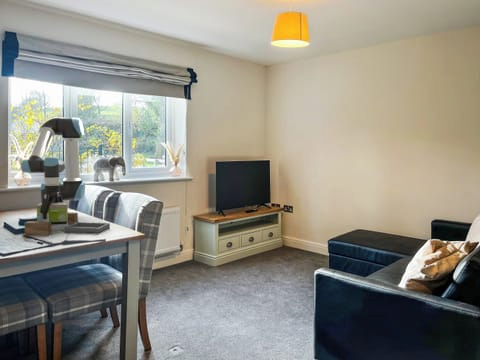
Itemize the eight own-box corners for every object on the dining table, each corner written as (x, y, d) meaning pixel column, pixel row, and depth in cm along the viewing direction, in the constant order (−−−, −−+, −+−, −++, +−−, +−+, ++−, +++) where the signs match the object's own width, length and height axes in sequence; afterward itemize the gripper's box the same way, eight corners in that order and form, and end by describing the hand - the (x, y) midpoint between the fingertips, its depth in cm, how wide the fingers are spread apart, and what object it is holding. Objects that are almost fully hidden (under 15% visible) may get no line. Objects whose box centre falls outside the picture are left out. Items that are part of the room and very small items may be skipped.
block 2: (58, 223, 233) (58, 212, 233) (77, 224, 232) (77, 212, 232) (55, 224, 229) (54, 213, 229) (74, 225, 228) (74, 213, 228)
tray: (77, 227, 223) (77, 222, 223) (109, 228, 222) (109, 223, 221) (64, 232, 209) (64, 227, 209) (98, 233, 208) (98, 228, 207)
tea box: (36, 232, 209) (36, 205, 208) (39, 228, 219) (38, 202, 217) (67, 230, 215) (66, 204, 214) (68, 226, 224) (67, 201, 223)
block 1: (29, 234, 205) (28, 221, 204) (51, 234, 205) (51, 221, 205) (24, 236, 201) (24, 222, 200) (48, 236, 201) (47, 223, 201)
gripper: (58, 182, 228) (58, 218, 229) (31, 187, 203) (33, 226, 205) (70, 182, 227) (71, 218, 229) (45, 187, 202) (46, 227, 204)
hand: (53, 222), depth 217 cm, fingers open, 13 cm apart
